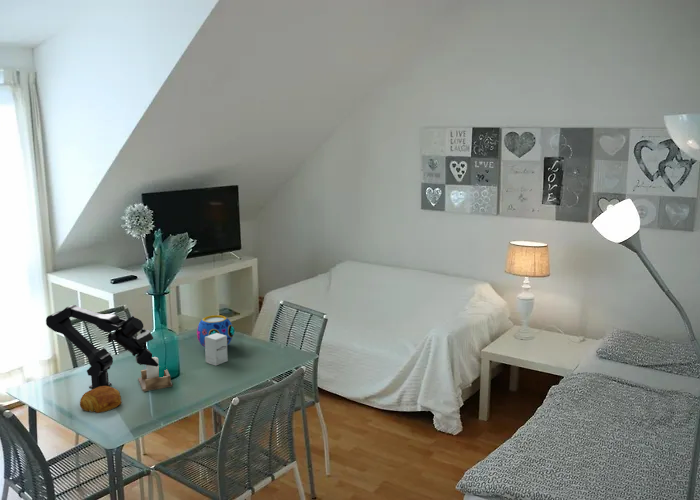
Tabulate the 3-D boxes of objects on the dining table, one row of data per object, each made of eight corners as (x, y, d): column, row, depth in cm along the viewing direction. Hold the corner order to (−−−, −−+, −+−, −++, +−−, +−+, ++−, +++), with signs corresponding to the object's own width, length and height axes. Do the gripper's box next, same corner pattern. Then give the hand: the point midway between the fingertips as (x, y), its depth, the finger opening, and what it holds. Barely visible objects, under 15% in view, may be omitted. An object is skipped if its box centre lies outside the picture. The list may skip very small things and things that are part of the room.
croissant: (76, 410, 249) (72, 392, 246) (114, 393, 259) (110, 376, 256) (91, 422, 238) (87, 403, 236) (130, 404, 248) (126, 386, 246)
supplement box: (216, 366, 288) (214, 339, 285) (205, 362, 292) (204, 336, 290) (228, 361, 293) (227, 335, 291) (217, 357, 298) (216, 332, 295)
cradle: (142, 391, 260) (142, 381, 260) (138, 380, 272) (137, 370, 271) (172, 386, 266) (172, 376, 265) (166, 375, 277) (166, 365, 276)
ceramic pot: (209, 357, 299) (208, 326, 296) (190, 347, 311) (189, 318, 308) (241, 348, 310) (240, 319, 307) (221, 339, 323) (220, 310, 320)
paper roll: (159, 382, 267) (158, 360, 265) (147, 384, 265) (146, 361, 263) (158, 378, 271) (157, 356, 269) (146, 379, 270) (145, 357, 268)
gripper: (143, 332, 253) (173, 354, 260) (137, 319, 270) (165, 340, 277) (124, 354, 252) (154, 375, 259) (118, 339, 268) (147, 360, 275)
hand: (155, 361), depth 267 cm, fingers open, 9 cm apart
